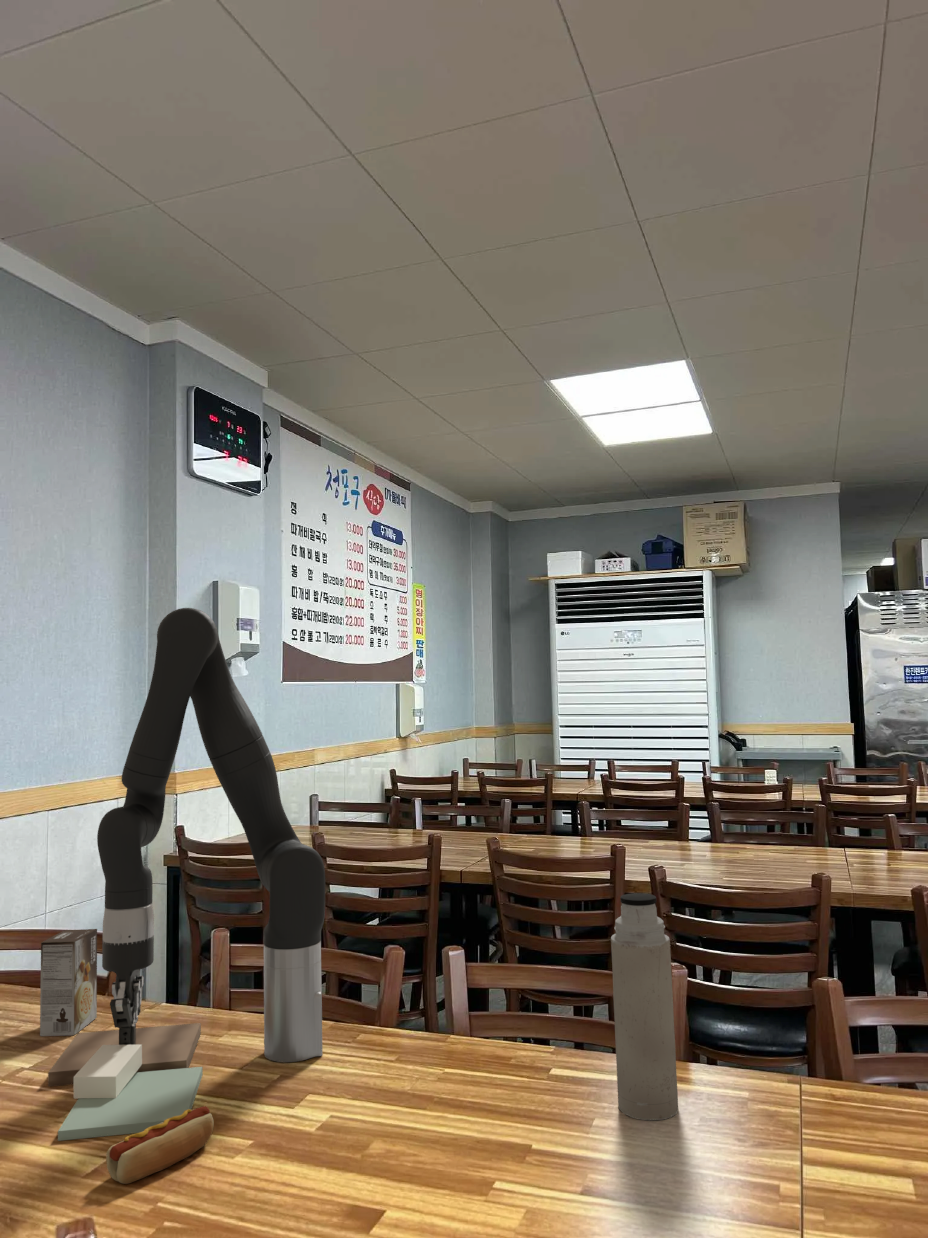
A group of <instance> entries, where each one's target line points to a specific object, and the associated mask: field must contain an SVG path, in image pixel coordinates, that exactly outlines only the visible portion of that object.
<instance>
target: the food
mask: <svg viewBox="0 0 928 1238" xmlns="http://www.w3.org/2000/svg"><path fill="white" fill-rule="evenodd" d="M214 1121H215V1120H214V1118H213V1115H212V1113H210V1108H209V1107H208V1106H206V1105H205V1106H204V1105H203V1106H201V1107H197V1108H196V1107H195V1108H193V1109H191V1110H190V1109H188V1110H185V1111H184V1112H183V1114H182V1115H179V1116H174V1117H172V1118H168V1119H166V1120H164V1122H162V1123H160V1124H157V1125H155V1126H151V1127H149V1128H147V1129H145V1130H144V1131H142V1132H139V1133H131V1134H130V1135H127V1136H125V1137H124V1139H123V1140H122V1141H120V1142H117V1143H116V1144H113V1145H111V1146H110V1147H109V1148H108V1149H107V1151H106V1153H105V1155H106V1156H105V1157H106V1159H105V1160H106V1169H107V1171H108V1174H109V1175H110V1177H111V1179H112V1180H114V1181H116V1182H118V1183H120V1184H123V1185H124V1184H125V1185H127V1184H128V1185H129V1184H131V1183H134V1182H137V1181H139V1180H142V1179H144V1178H146V1177H148V1176H150V1175H152V1174H155V1173H157V1172H160V1171H163V1170H165V1169H167V1168H169V1167H171V1166H173V1165H175V1164H177V1163H179V1162H181V1161H182V1160H185V1159H186V1158H188V1157H190V1156H192V1155H193V1154H194V1153H196V1152H198V1151H199V1150H201V1148H203V1147H204V1146H205V1145H206V1144H207V1143H208V1141H209V1139H211V1136H212V1134H213V1131H214V1125H215V1123H214Z"/></svg>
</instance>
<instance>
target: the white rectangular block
mask: <svg viewBox="0 0 928 1238" xmlns="http://www.w3.org/2000/svg"><path fill="white" fill-rule="evenodd" d="M141 1065H142V1045H102V1046H101V1047H100V1048H99V1050H98V1051H97V1052H96V1053H95V1054H94V1055H93V1056H92V1057H91V1058H90V1059H89V1061H88V1062H87V1063H86V1064H85V1065H84V1066H83V1067H82V1068H81V1069H80V1070H79V1072H78V1073H77V1074H76V1075H75V1076H74V1084H73V1099H78V1098H116V1097H117V1096H118V1095H119V1093H120V1092H121V1091H122V1090H123V1088H124V1087H125V1086H126V1084H127V1083H128V1082H129V1081H130V1079H131V1078H132V1077H133V1075H134V1074H135V1073H136V1072H137V1070H138V1069H139V1068H140V1066H141Z"/></svg>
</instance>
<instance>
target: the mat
mask: <svg viewBox="0 0 928 1238" xmlns="http://www.w3.org/2000/svg"><path fill="white" fill-rule="evenodd" d="M202 1077H203V1066H196V1067H195V1066H192V1067H189V1068H182V1069H170V1070H159V1071H148V1072H137V1073H135V1074H134V1075H133V1077H132V1078H131V1079H130V1081H129V1082H128V1083H127V1084H126V1086H125V1087H124V1088H123V1090H122V1091H121V1092H120V1093H119V1095H118V1096H117V1097H116V1098H77V1100H76V1102H75V1103H74V1105H73V1106H72V1108H71V1110H70V1111H69V1113H68V1114H67V1116H66V1118H65V1119H64V1121H63V1123H61V1126H60V1128H59V1129H58V1131H57V1142H58V1141H59V1142H60V1141H71V1140H80V1139H89V1138H100V1137H110V1136H112V1137H113V1136H120V1135H129V1134H130V1135H132V1134H136V1133H139V1132H142V1131H144V1130H145V1129H147V1128H149V1127H151V1126H155V1125H157V1124H160V1123H162V1122H164V1120H166V1119H168V1118H172V1117H174V1116H179V1115H182V1114H183V1112H184V1111H185V1110H188V1109H190V1110H192V1108H193V1105H194V1102H195V1099H196V1096H197V1093H198V1090H199V1088H200V1087H199V1086H200V1084H201V1080H202Z"/></svg>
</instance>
